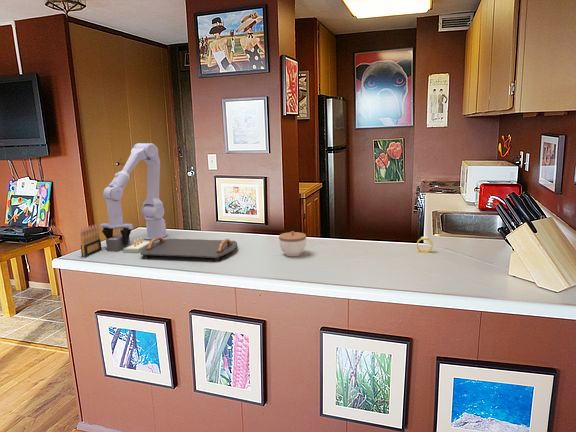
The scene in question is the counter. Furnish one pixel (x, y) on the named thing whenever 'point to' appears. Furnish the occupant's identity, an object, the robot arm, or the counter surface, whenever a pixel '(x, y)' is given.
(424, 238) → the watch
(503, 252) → the counter surface
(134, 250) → the pin header
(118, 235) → the block
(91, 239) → the ammunition clip
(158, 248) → the serving board
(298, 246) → the lidded jar
